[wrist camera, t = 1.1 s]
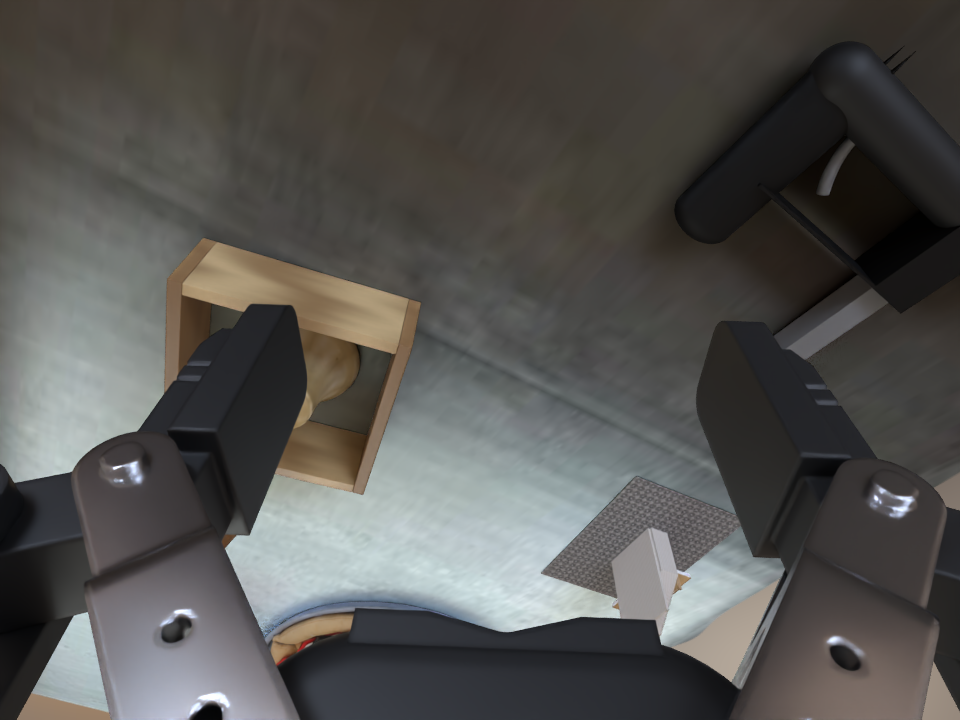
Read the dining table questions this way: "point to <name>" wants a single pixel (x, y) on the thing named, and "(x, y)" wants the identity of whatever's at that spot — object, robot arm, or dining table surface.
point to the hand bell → (323, 374)
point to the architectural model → (643, 548)
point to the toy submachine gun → (799, 143)
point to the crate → (318, 309)
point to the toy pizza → (319, 626)
